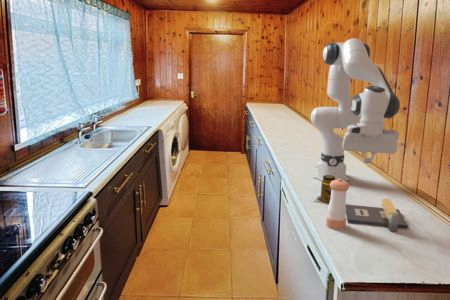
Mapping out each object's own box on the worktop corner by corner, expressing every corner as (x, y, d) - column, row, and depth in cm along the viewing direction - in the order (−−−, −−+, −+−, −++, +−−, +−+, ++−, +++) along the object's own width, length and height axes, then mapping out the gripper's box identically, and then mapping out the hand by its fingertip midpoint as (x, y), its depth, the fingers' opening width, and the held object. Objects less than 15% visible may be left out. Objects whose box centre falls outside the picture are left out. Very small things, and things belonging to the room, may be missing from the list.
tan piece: (398, 231, 140) (400, 216, 139) (388, 230, 141) (390, 215, 140) (388, 212, 158) (390, 199, 156) (380, 211, 159) (382, 198, 157)
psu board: (344, 207, 164) (344, 203, 163) (398, 212, 159) (398, 208, 159) (347, 222, 149) (348, 218, 148) (407, 228, 144) (408, 224, 144)
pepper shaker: (330, 220, 151) (334, 174, 146) (348, 225, 146) (353, 178, 142) (322, 225, 145) (326, 179, 141) (340, 231, 141) (345, 183, 136)
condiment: (332, 205, 166) (334, 179, 163) (313, 201, 170) (315, 176, 167) (336, 200, 172) (338, 175, 169) (318, 196, 176) (320, 172, 173)
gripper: (397, 128, 147) (393, 162, 150) (343, 125, 151) (340, 158, 154) (401, 131, 141) (396, 166, 144) (344, 128, 145) (341, 162, 148)
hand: (367, 162), depth 149 cm, fingers closed
